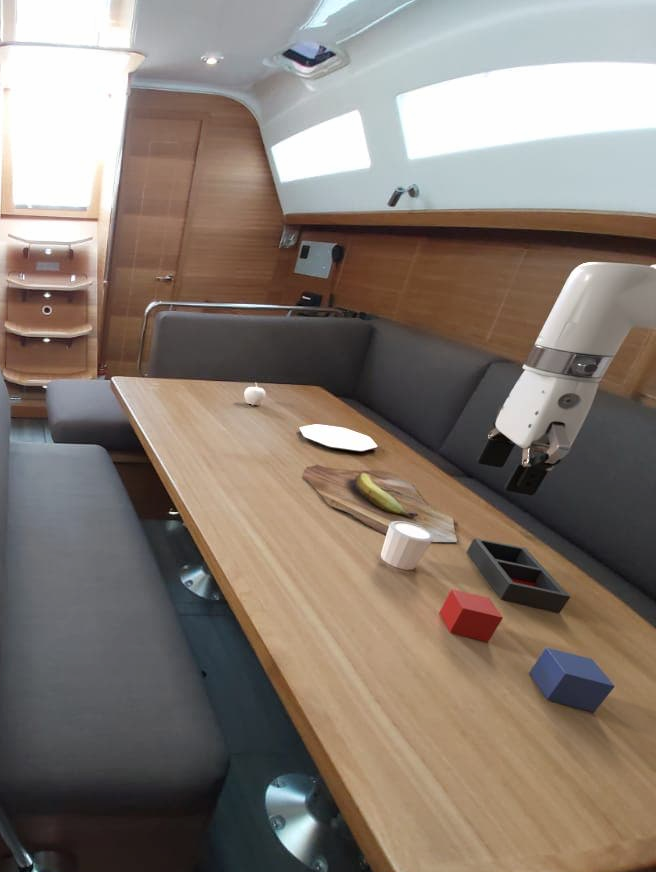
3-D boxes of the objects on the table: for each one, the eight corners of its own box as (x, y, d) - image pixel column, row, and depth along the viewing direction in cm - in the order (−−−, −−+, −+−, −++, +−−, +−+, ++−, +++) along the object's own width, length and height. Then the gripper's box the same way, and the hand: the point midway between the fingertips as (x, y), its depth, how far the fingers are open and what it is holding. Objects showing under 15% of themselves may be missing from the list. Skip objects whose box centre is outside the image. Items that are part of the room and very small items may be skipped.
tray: (516, 562, 97) (525, 547, 95) (559, 613, 84) (570, 596, 82) (466, 552, 100) (474, 537, 98) (500, 599, 87) (509, 583, 85)
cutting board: (289, 464, 135) (293, 451, 133) (395, 472, 132) (401, 459, 131) (352, 535, 104) (359, 519, 102) (493, 548, 101) (502, 533, 99)
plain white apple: (244, 399, 186) (249, 379, 183) (264, 403, 183) (270, 382, 179) (240, 404, 181) (245, 383, 178) (260, 408, 178) (266, 387, 174)
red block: (475, 621, 81) (489, 597, 79) (488, 642, 77) (503, 617, 75) (438, 612, 83) (451, 588, 81) (449, 632, 79) (463, 608, 77)
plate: (382, 458, 141) (384, 454, 140) (306, 447, 146) (307, 443, 145) (362, 434, 158) (364, 430, 157) (294, 425, 163) (296, 421, 162)
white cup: (425, 575, 92) (440, 544, 89) (383, 566, 94) (396, 536, 91) (412, 554, 98) (426, 524, 95) (372, 547, 100) (384, 517, 97)
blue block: (573, 684, 70) (592, 658, 68) (594, 713, 66) (615, 686, 64) (528, 672, 72) (545, 647, 70) (546, 699, 68) (565, 673, 66)
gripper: (648, 384, 57) (567, 511, 65) (566, 354, 72) (508, 461, 79) (564, 374, 60) (496, 497, 67) (501, 347, 74) (451, 451, 82)
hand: (502, 477), depth 73 cm, fingers open, 9 cm apart
